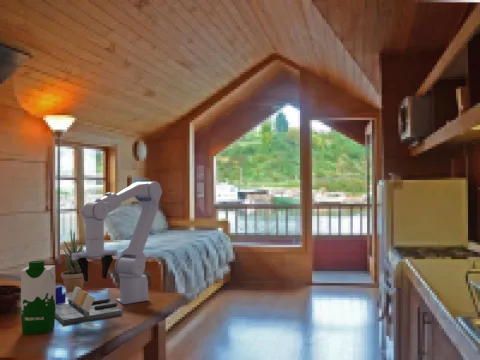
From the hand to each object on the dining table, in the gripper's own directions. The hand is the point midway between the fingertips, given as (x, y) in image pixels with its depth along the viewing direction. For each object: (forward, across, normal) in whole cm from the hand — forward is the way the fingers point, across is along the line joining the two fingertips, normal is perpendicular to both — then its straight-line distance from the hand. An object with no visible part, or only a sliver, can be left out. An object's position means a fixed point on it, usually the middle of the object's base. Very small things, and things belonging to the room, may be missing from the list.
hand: (95, 279), depth 154 cm
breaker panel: (+10, +4, 0) cm, 11 cm away
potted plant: (+11, -2, -35) cm, 37 cm away
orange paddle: (+8, +6, 0) cm, 10 cm away
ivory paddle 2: (+8, +6, +7) cm, 12 cm away
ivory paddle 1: (+8, +6, -7) cm, 12 cm away
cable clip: (+11, +10, -23) cm, 27 cm away
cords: (+9, -2, 0) cm, 9 cm away
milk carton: (+11, +20, +10) cm, 24 cm away
